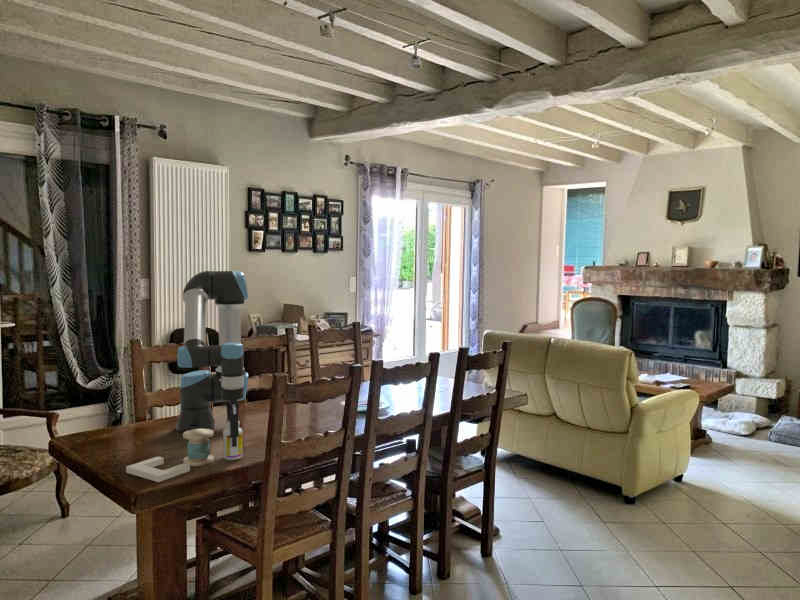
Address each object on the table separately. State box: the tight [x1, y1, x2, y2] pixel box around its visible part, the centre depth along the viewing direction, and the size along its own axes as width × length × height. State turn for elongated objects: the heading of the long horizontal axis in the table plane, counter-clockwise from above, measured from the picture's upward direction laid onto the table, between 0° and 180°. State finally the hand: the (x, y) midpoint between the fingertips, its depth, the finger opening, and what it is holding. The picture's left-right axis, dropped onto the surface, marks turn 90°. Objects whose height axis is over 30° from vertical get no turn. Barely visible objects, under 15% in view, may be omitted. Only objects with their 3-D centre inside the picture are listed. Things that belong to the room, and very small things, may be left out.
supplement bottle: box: [222, 420, 244, 461], centre depth 209 cm, size 7×7×13 cm
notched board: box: [125, 456, 191, 483], centre depth 194 cm, size 12×16×2 cm
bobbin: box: [182, 429, 215, 467], centre depth 205 cm, size 10×10×10 cm
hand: (232, 451), depth 209 cm, fingers closed on supplement bottle, 7 cm apart
